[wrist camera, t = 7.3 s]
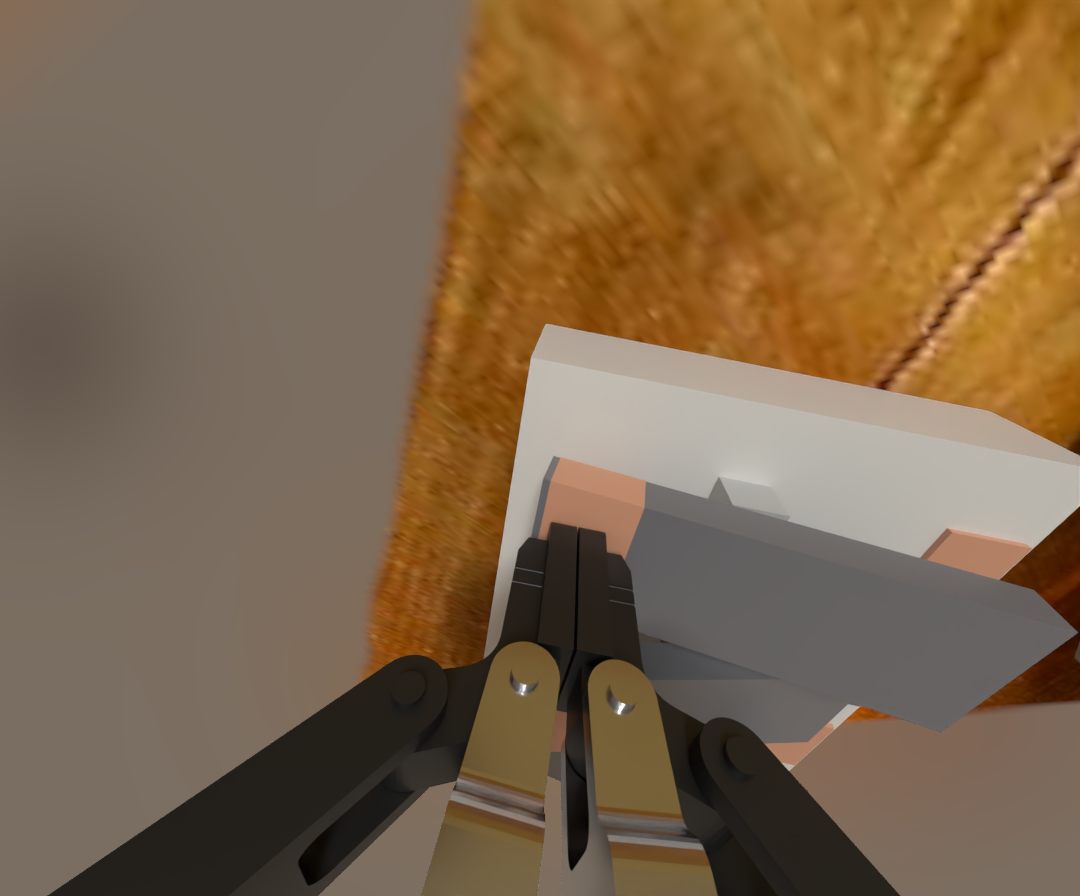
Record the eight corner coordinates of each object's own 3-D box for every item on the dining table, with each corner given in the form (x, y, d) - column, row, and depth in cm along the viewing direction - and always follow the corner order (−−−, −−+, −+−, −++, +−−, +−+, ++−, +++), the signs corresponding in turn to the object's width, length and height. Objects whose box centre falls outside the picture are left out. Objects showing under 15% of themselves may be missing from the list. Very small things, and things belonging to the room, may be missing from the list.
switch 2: (1033, 588, 10) (1078, 632, 9) (915, 688, 12) (940, 732, 11) (553, 455, 11) (543, 478, 10) (530, 565, 14) (519, 593, 12)
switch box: (989, 410, 14) (1181, 505, 10) (748, 704, 24) (784, 819, 20) (545, 323, 14) (523, 374, 10) (490, 650, 25) (466, 751, 20)
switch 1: (847, 643, 14) (875, 679, 13) (788, 708, 17) (807, 742, 15) (511, 640, 12) (512, 681, 11) (495, 713, 15) (495, 753, 13)
